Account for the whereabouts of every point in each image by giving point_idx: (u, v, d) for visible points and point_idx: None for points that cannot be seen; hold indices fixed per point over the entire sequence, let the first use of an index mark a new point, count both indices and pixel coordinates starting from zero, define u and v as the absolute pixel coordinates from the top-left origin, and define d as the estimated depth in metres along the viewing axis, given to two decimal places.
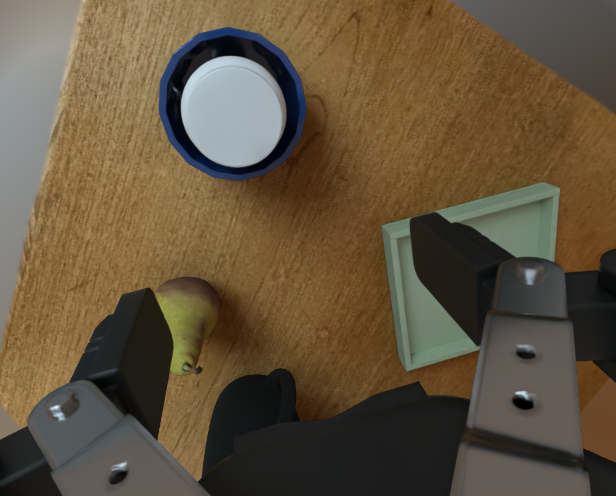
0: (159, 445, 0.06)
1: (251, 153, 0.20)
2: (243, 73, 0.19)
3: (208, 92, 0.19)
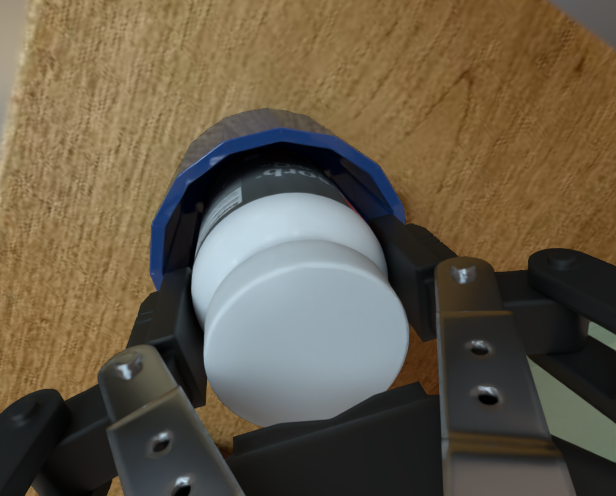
0: (200, 422, 0.06)
1: (338, 406, 0.10)
2: (336, 273, 0.08)
3: (257, 315, 0.08)
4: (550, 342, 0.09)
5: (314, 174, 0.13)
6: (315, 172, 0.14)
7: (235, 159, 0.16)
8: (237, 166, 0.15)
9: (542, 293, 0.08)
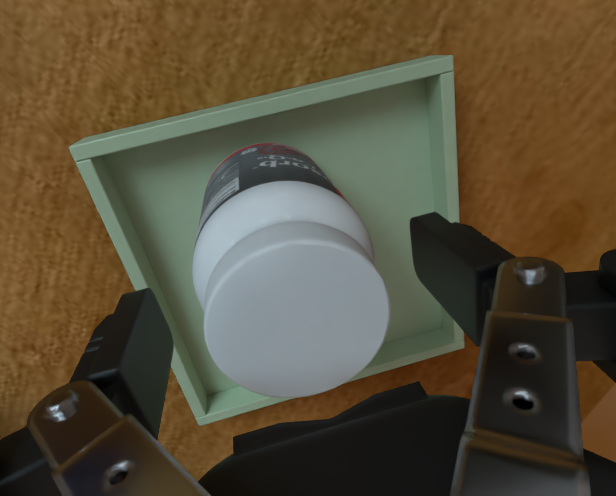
0: (159, 445, 0.06)
1: (326, 375, 0.11)
2: (323, 250, 0.09)
3: (252, 288, 0.09)
4: None
5: (307, 166, 0.14)
6: (308, 164, 0.15)
7: (234, 153, 0.17)
8: (235, 159, 0.16)
9: None
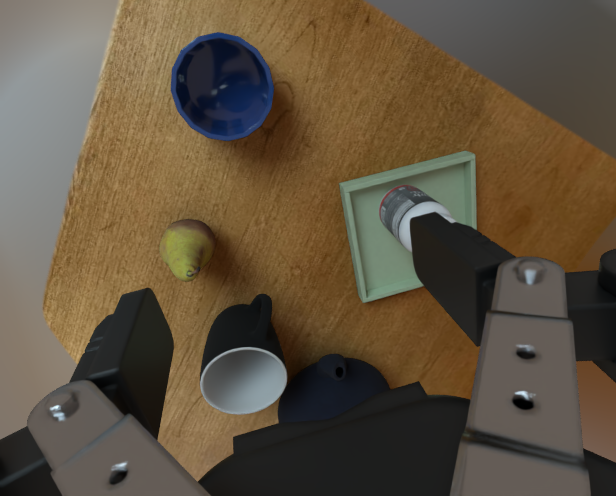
0: (159, 445, 0.06)
1: None
2: (447, 219, 0.38)
3: None
4: None
5: (427, 195, 0.43)
6: (426, 194, 0.43)
7: (393, 188, 0.45)
8: (398, 192, 0.44)
9: None
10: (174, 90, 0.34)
